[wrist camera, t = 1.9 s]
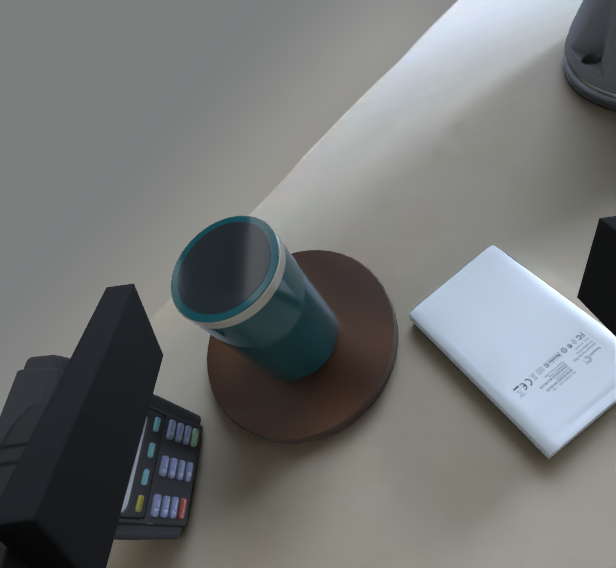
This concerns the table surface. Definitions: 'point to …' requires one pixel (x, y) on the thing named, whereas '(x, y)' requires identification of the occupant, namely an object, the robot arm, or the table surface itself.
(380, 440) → the table surface
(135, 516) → the card reader
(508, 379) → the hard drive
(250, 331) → the tumbler
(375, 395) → the plate
